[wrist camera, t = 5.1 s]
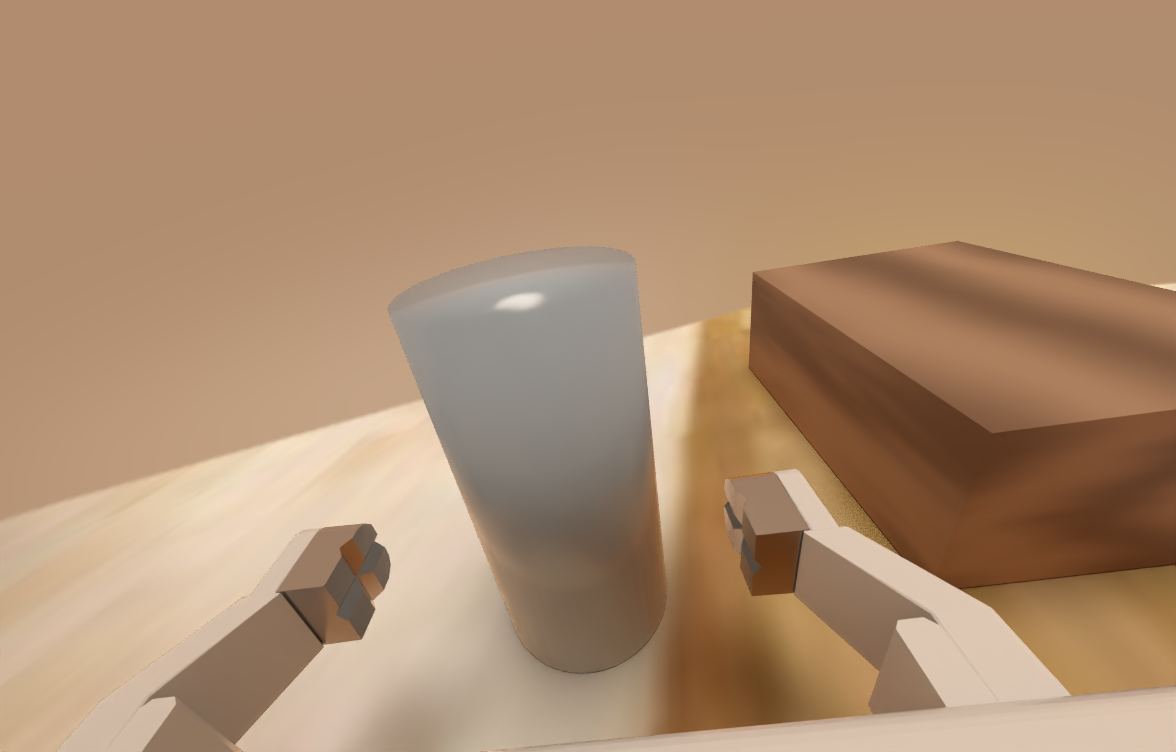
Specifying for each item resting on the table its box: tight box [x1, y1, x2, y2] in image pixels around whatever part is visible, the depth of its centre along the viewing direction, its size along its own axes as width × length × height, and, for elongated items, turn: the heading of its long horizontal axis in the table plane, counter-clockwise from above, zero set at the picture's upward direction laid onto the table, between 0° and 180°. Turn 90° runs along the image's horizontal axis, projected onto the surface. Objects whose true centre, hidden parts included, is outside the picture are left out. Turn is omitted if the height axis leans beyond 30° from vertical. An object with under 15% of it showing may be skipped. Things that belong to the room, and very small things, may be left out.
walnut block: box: [749, 241, 1176, 589], centre depth 18 cm, size 11×15×6 cm
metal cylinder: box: [388, 247, 666, 673], centre depth 12 cm, size 5×5×11 cm
